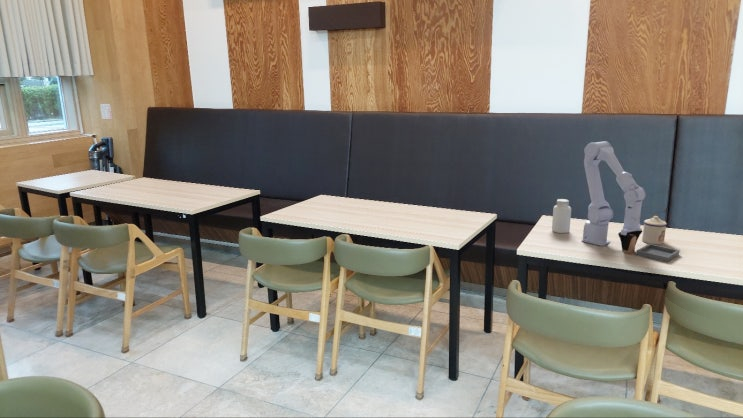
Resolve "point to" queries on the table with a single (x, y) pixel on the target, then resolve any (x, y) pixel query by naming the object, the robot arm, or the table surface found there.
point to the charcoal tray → (657, 252)
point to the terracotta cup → (631, 246)
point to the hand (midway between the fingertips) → (628, 248)
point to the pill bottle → (561, 216)
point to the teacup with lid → (654, 231)
